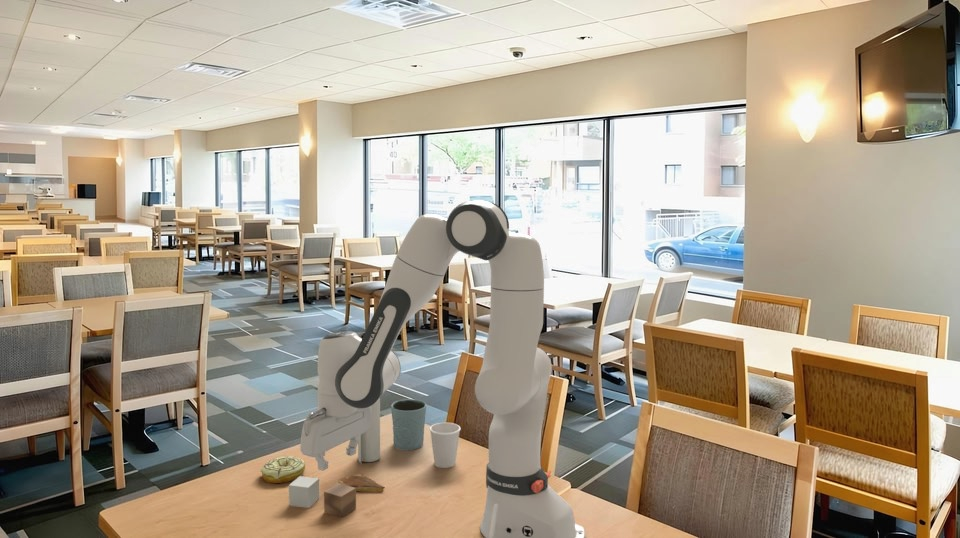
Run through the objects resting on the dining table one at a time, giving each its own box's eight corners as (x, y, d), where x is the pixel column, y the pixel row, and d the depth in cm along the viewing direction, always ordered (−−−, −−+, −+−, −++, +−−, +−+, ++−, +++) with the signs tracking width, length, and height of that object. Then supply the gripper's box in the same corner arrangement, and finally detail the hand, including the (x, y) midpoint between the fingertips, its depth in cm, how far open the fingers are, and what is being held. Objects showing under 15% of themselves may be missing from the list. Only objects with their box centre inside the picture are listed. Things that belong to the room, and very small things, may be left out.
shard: (385, 493, 156) (385, 486, 156) (357, 503, 151) (357, 495, 150) (361, 478, 164) (361, 471, 164) (334, 487, 159) (334, 480, 158)
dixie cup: (423, 461, 174) (423, 425, 172) (450, 455, 178) (450, 420, 177) (439, 472, 167) (439, 435, 166) (466, 465, 171) (466, 429, 170)
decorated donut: (252, 477, 163) (252, 463, 163) (288, 464, 172) (288, 450, 171) (277, 489, 157) (277, 474, 156) (313, 474, 165) (312, 460, 165)
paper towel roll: (373, 452, 180) (372, 377, 177) (384, 459, 175) (384, 382, 173) (350, 458, 175) (349, 382, 173) (360, 465, 170) (360, 387, 168)
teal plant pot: (413, 435, 192) (413, 397, 191) (433, 445, 185) (433, 405, 183) (384, 443, 186) (384, 403, 185) (403, 454, 178) (403, 412, 177)
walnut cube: (355, 508, 147) (355, 487, 147) (341, 518, 143) (341, 496, 142) (339, 503, 149) (338, 483, 149) (324, 512, 145) (323, 491, 145)
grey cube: (319, 498, 152) (318, 478, 151) (308, 508, 147) (308, 487, 146) (300, 496, 153) (299, 476, 152) (289, 505, 148) (288, 485, 148)
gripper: (315, 418, 133) (315, 482, 134) (376, 393, 151) (376, 449, 152) (293, 413, 136) (293, 475, 137) (355, 388, 154) (355, 444, 155)
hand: (337, 461), depth 145 cm, fingers open, 8 cm apart
